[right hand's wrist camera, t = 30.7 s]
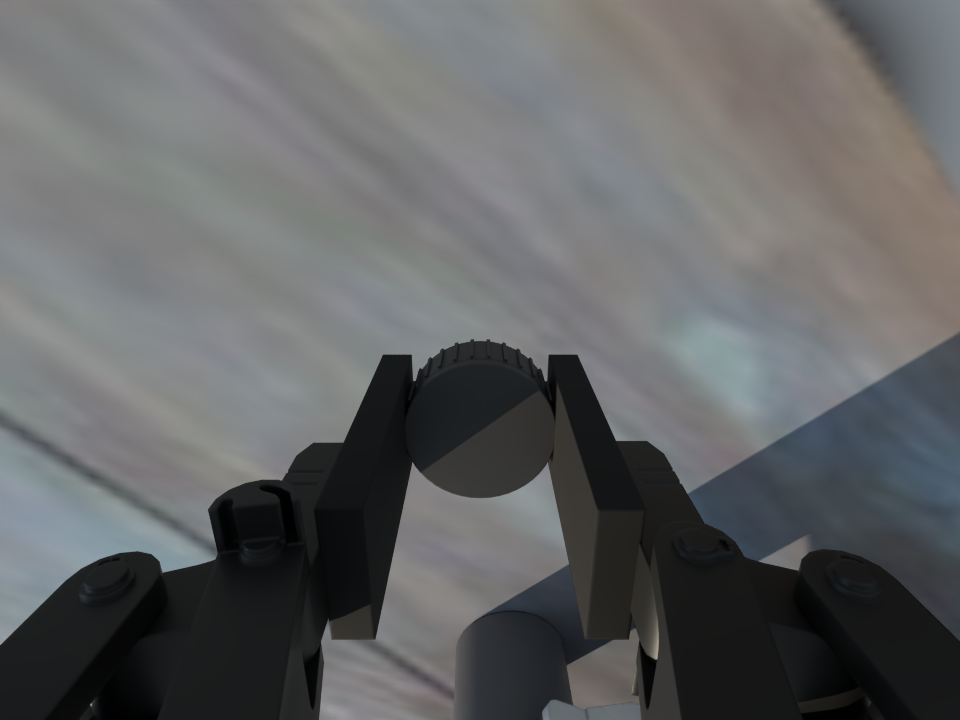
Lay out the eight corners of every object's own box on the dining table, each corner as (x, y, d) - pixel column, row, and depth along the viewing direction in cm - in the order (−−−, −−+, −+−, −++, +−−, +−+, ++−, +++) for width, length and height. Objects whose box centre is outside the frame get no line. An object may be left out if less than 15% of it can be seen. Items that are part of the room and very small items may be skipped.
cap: (547, 465, 16) (555, 500, 14) (412, 465, 16) (405, 500, 14) (554, 338, 14) (563, 361, 13) (405, 337, 14) (397, 362, 13)
